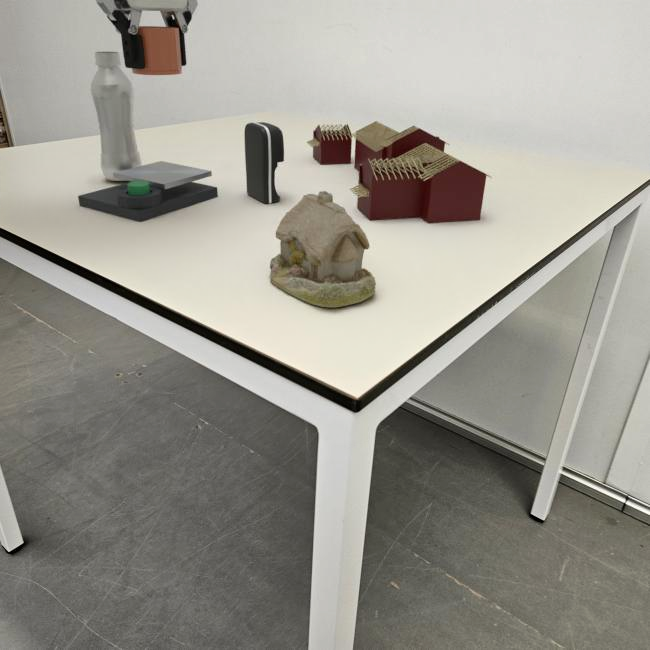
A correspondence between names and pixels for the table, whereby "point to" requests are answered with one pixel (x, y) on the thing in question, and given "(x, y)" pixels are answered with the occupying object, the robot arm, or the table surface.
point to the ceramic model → (321, 254)
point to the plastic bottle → (114, 115)
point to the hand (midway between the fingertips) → (156, 65)
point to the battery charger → (263, 160)
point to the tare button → (138, 188)
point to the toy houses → (403, 173)
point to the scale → (146, 200)
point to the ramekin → (160, 51)
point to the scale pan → (163, 174)
